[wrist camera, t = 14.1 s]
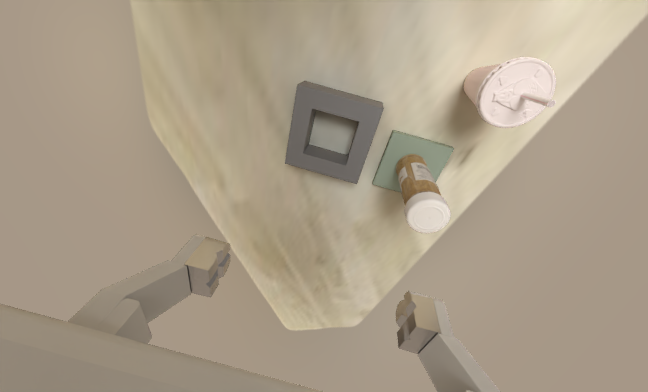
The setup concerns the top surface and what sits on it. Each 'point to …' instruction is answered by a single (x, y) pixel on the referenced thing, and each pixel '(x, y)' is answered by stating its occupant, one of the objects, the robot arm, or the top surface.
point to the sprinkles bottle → (421, 195)
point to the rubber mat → (406, 145)
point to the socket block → (340, 105)
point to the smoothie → (511, 91)
